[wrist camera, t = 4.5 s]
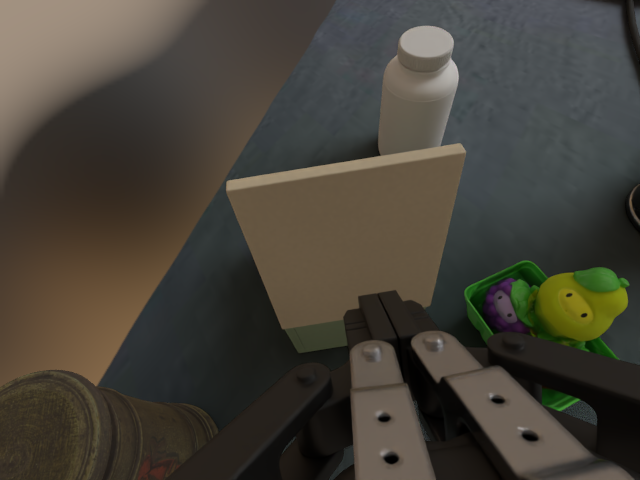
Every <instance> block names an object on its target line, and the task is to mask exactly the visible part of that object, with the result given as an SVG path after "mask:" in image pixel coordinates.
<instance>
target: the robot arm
mask: <svg viewBox="0 0 640 480" xmlns="http://www.w3.org/2000/svg"><path fill="white" fill-rule="evenodd" d="M626 7H627V18H628V25H629V30H630V34H631V38H632V42H633V45H634V48H635V51H636V54H637V57H638V60H639V63H640V36H639V32H638V28H637V24H636V19H635V12H634V0H626ZM626 211H627V214H628V217H629V219H630V220H631V222H632V223H633V225H634V226H635V227H636V228H637V229H638V230H639V231H640V184H638V185H637V186H636V187H635V188H634V189H633V190H632V191H631V192H630V193H629V195H628V197H627V199H626ZM358 303H359V308H358V309H351V310H347V311H346V313H345V315H344V316H343V319H344V326H345V332H346V338H347V345H348V351H349V356H350V358H349V360H348V361H347V362H346V363H345V364H344V365H343V366H341V367H339V368H337V369H335V370H333V371H330V370H329V369H328V367H326V366H325V365H323V364H320V363H305V364H301V365H298V366H296V367H294V368H292V369H291V370H290V371H288V372H287V373H286V374H285V375H284V376H283V377H282V378H280V379H279V380H278V381H277V382H276V383H275V384H274V385H272V386H271V387H270V388H269V389H268V390H267V391H265V392H264V393H263V394H262V395H261V396H260V397H259V398H257V399H256V400H255V401H254V402H253V403H252V404H251V405H249V406H248V407H247V408H246V409H245V410H244V411H243V412H241V413H240V414H239V415H238V416H237V417H236V418H234V419H233V420H232V421H231V422H230V423H229V424H228V425H226V426H225V427H224V428H223V429H222V430H221V431H220V432H218V433H217V434H216V435H215V436H214V437H213V438H212V439H210V440H209V441H208V442H207V443H206V444H205V445H203V446H202V447H201V448H200V449H199V450H198V451H197V452H195V453H194V454H193V455H192V456H191V457H190V458H189V459H187V460H186V461H185V462H184V463H183V464H182V465H181V466H179V467H178V468H177V469H176V470H175V471H174V472H173V473H171V474H170V475H169V476H168V477H167V478H166V479H164V480H328V479H329V478H330V476H331V475H332V474H333V472H334V471H335V469H336V468H337V467H338V465H339V464H340V462H341V461H342V459H343V456H344V448H346V447H348V446H350V445H353V447H354V464H353V465H351V466H350V467H348V468H347V469H345V470H344V471H343V472H341V473H340V474H339V475H338V476H337V477H336V478H335V479H334V480H640V366H639V365H636V364H632V363H628V362H625V361H621V360H618V359H614V358H610V357H607V356H603V355H599V354H596V353H592V352H588V351H585V350H581V349H577V348H574V347H570V346H566V345H563V344H559V343H555V342H552V341H548V340H544V339H541V338H537V337H533V336H530V335H526V334H522V333H517V332H501V333H497V334H494V335H492V336H490V337H489V338H488V340H487V348H476V347H464V346H463V345H462V344H461V343H460V342H459V341H458V340H457V339H456V338H455V337H454V336H453V335H451V334H449V333H446V332H442V331H440V330H439V329H438V327H437V326H436V325H435V323H434V322H433V321H432V319H431V318H430V317H429V315H428V314H427V312H426V311H425V309H424V308H423V307H422V305H421V304H419V303H417V302H415V301H413V300H407V301H402V299H401V297H400V296H399V294H398V293H397V291H396V290H392V291H386V292H380V293H377V294H376V293H374V294H368V295H361V296H358ZM542 386H544V387H547V388H550V389H553V390H555V391H558V392H561V393H564V394H567V395H569V396H572V397H575V398H578V399H580V400H583V401H584V402H586V403H587V404H589V405H590V406H591V407H592V408H593V409H594V411H595V412H596V414H597V426H595V425H593V424H590V423H588V422H585V421H583V420H580V419H578V418H575V417H573V416H570V415H568V414H565V413H563V412H560V411H558V410H555V409H553V408H550V407H548V406H545V405H543V404H542ZM415 400H416V401H417V404H418V411H419V419H420V422H421V423H422V425H423V427H424V429H425V431H426V433H427V435H428V437H429V439H430V441H424V437H423V434H422V431H421V427H420V424H419V420H418V417H417V414H416V410H415V407H414V404H413V401H415ZM295 435H296V439H295V441H294V442H293V443H292V444H291V445H290V446H289V447H288V448H287V449H286V451H285V452H284V453H283V454H282V451H283V450H284V448H285V446H286V445H287V444H288V443H289V442H290V441H291V440H292V439H293V437H294V436H295ZM281 454H282V455H281Z"/></svg>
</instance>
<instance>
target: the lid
mask: <svg viewBox="0 0 640 480" xmlns="http://www.w3.org/2000/svg"><path fill="white" fill-rule="evenodd" d="M465 156H466V151H465V149H464V148H463V146H462V145H461V144H460V143H458V144H452V145H446V146H440V147H433V148H427V149H421V150H415V151H409V152H403V153H396V154H390V155H384V156H378V157H372V158H365V159H359V160H353V161H347V162H341V163H334V164H328V165H322V166H316V167H310V168H304V169H297V170H291V171H285V172H279V173H273V174H266V175H260V176H254V177H248V178H242V179H235V180H229V181H227V184H226V193H227V195H228V198H229V200H230V202H231V205H232V207H233V210H234V212H235V215H236V217H237V220H238V222H239V225H240V227H241V229H242V232H243V234H244V237H245V239H246V242H247V244H248V247H249V249H250V252H251V254H252V256H253V259H254V261H255V264H256V266H257V269H258V271H259V274H260V276H261V279H262V281H263V283H264V286H265V288H266V291H267V293H268V296H269V298H270V301H271V303H272V306H273V308H274V311H275V313H276V315H277V318H278V320H279V323H280V325H281V328H282V329H288V328H295V327H301V326H307V325H314V324H320V323H326V322H333V321H339V320H344V319H343V316H344V315H345V313H346V311H347V310H351V309H358V308H359V303H358V296H361V295H368V294H374V293H376V294H377V293H380V292H386V291H392V290H396V291H397V293H398V294H399V296H400V297H401V299H402V301H407V300H413V301H415V302H417V303H419V304H421V305H422V307H427V306H430V305H431V301H432V296H433V292H434V288H435V284H436V279H437V275H438V271H439V267H440V262H441V258H442V254H443V249H444V245H445V241H446V237H447V232H448V228H449V224H450V220H451V215H452V211H453V207H454V203H455V198H456V194H457V190H458V185H459V181H460V177H461V173H462V168H463V164H464V160H465Z"/></svg>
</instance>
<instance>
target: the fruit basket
mask: <svg viewBox="0 0 640 480" xmlns="http://www.w3.org/2000/svg"><path fill="white" fill-rule="evenodd" d="M628 286H629V282H628V281H627V280H626V279H624V278H619V279H618V278H617V276H616V274H615V273H614V272H613V271H611V270H610V269H607V268H603V267H596V268H591V269H588V270H584V271H575V272H574V273H562V274H558V275H555V276H552V277H550V278H548V277H547V276H546V275H545V274H544V273H543V272H542V271H541V269H540V268H539V267H538V266H537V265H536V264H535V263H533V262H531V261H521V262H519V263H517V264H515V265H513V266H511V267H508V268H506V269H504V270H502V271H500V272H498V273H496V274H494V275H492V276H489V277H487V278H485V279H483V280H481V281H479V282H476V283H475V284H472V285H470V286H469V287H467V288H466V289H465V292H464V296H465V301H466V303H467V316H468V318H469V319H470V321H471V322H472V324H473V325H474V327H475V328H476V329H478V330H479V331H480V334H481V336H482V338H483V340H484V341H485V343H486V344H487V340H488V338H489V337H490V336H492V335H494V334H497V333H501V332H517V333H522V334H526V335H530V336H533V337H537V338H541V339H544V340H548V341H552V342H555V343H559V344H563V345H566V346H570V347H574V348H577V349H581V350H585V351H588V352H592V353H596V354H599V355H603V356H607V357H610V358H614V359H618V358H617V357H616V356H615V354H614V353H613V352H612V351H611V350H610V349H609V348H608V347H607V345H606V344H605V343H604V342H603V341H602V340H601V338H600V337H599V336H600V335H602V334H603V333H604V332H605V331H606V330H607V329H608V328H609V327H610V325H611V324H612V322H613V320H614V318H615V317H616V316H618V315H619V314H621V313H622V312H623V311H624V310H625V309H626V307H627V304H628V297H627V293H626V290H625V287H628ZM618 360H619V359H618ZM579 400H580V399H578V398H575V397H572V396H569V395H567V394H564V393H561V392H558V391H555V390H553V389H550V388H547V387H544V386H542V404H543V405H545V406H548V407H550V408H553V409H555V410H558V411H562V410H563V409H565V408H567V407H569V406H570V405H572V404H574V403H575V402H577V401H579Z"/></svg>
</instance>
